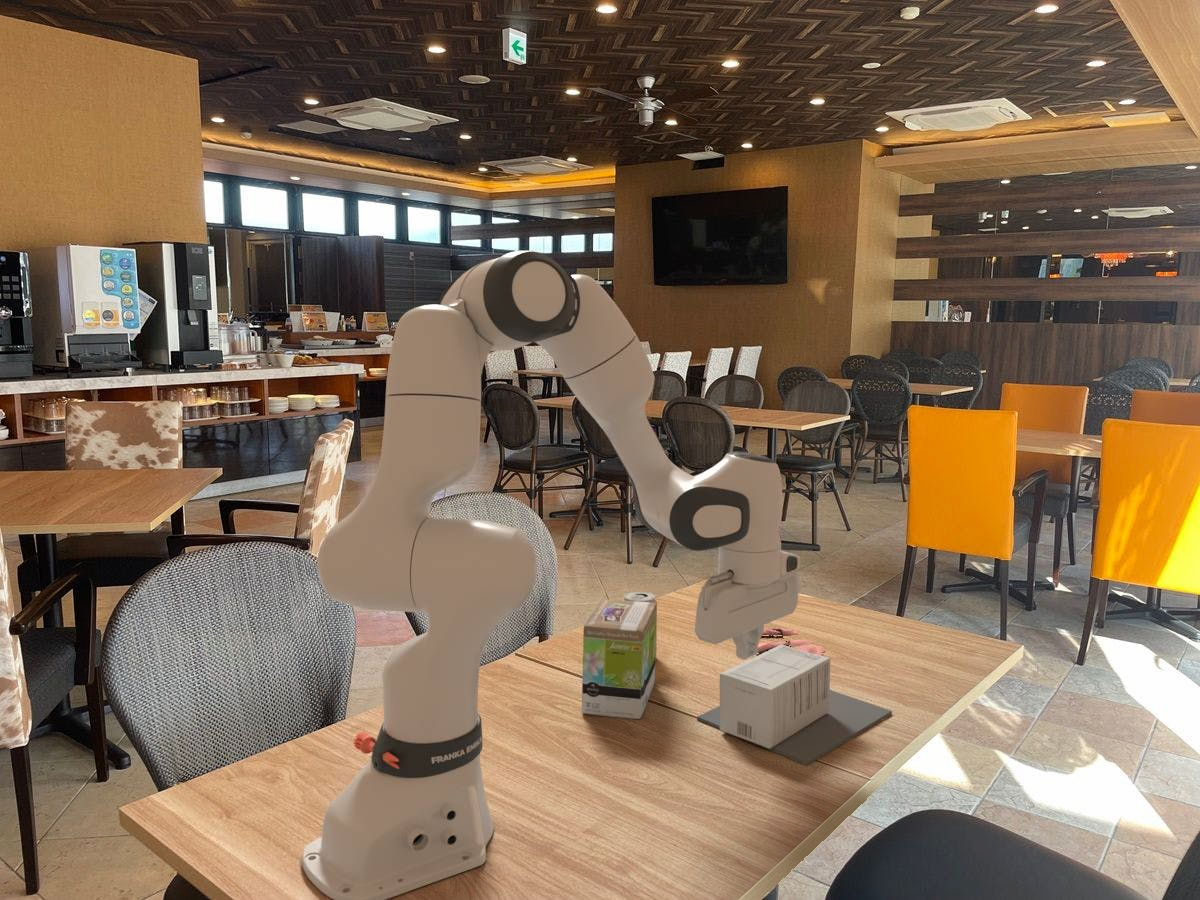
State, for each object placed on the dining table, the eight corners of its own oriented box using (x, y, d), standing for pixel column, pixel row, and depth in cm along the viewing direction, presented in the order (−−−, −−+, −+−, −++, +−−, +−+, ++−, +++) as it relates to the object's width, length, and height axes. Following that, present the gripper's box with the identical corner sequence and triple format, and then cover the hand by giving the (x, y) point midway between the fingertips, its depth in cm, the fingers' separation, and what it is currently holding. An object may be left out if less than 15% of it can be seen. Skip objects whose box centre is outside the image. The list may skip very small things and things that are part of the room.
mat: (806, 765, 125) (806, 762, 125) (696, 719, 139) (697, 716, 139) (891, 713, 141) (891, 710, 141) (785, 677, 156) (785, 674, 155)
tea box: (643, 721, 139) (644, 630, 137) (580, 715, 141) (580, 625, 139) (656, 683, 153) (657, 600, 151) (599, 678, 155) (599, 596, 153)
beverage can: (662, 656, 165) (663, 593, 164) (645, 667, 160) (646, 603, 158) (632, 649, 169) (633, 588, 167) (615, 660, 163) (615, 597, 162)
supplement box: (770, 751, 128) (832, 713, 140) (772, 690, 127) (833, 657, 138) (717, 730, 135) (780, 696, 146) (718, 671, 133) (781, 642, 145)
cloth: (837, 664, 164) (838, 651, 163) (718, 663, 164) (718, 650, 164) (813, 626, 184) (813, 615, 183) (706, 625, 184) (707, 614, 184)
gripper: (721, 584, 118) (719, 682, 120) (807, 555, 132) (804, 644, 134) (685, 574, 123) (683, 669, 125) (772, 547, 137) (769, 633, 139)
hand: (746, 656), depth 130 cm, fingers closed
